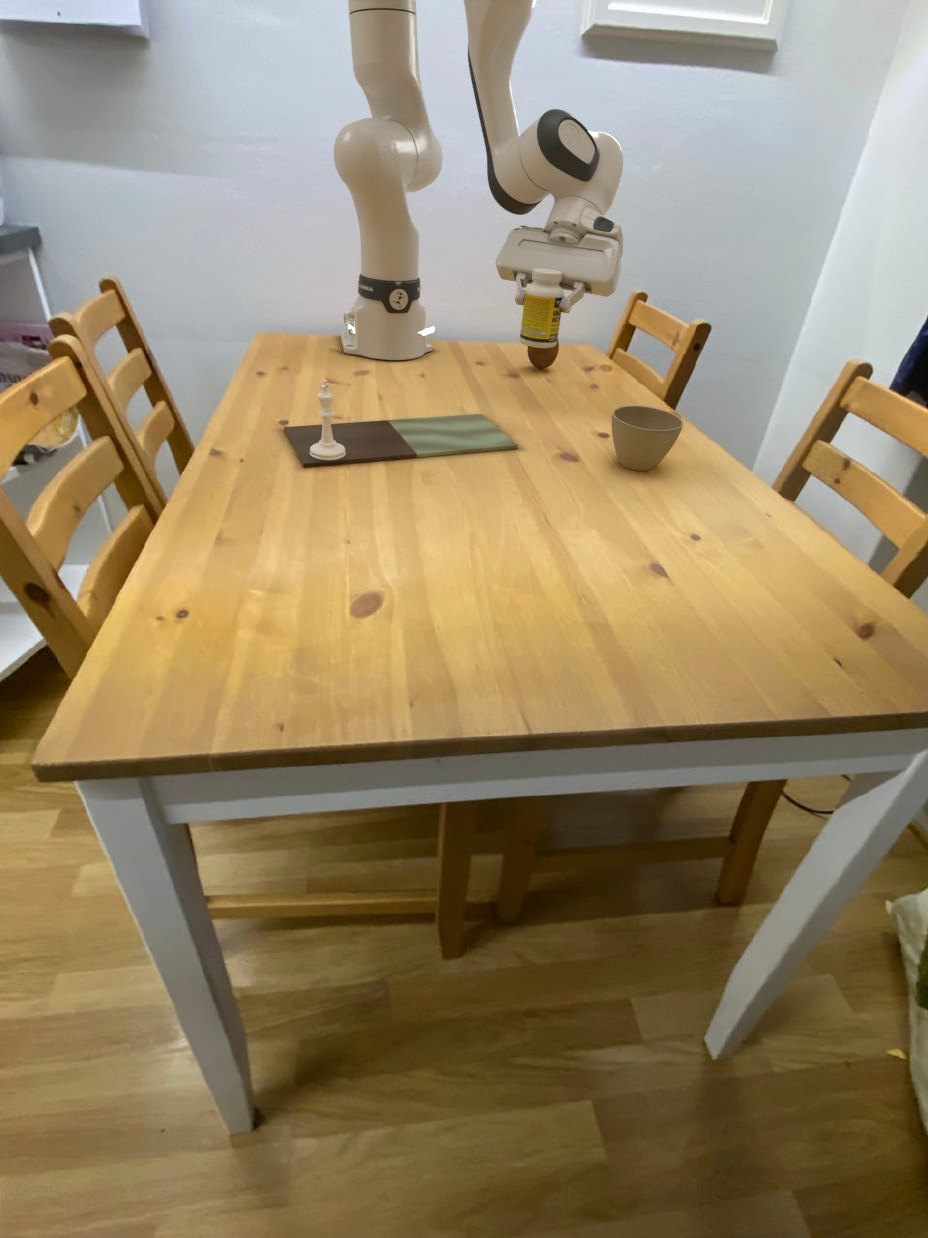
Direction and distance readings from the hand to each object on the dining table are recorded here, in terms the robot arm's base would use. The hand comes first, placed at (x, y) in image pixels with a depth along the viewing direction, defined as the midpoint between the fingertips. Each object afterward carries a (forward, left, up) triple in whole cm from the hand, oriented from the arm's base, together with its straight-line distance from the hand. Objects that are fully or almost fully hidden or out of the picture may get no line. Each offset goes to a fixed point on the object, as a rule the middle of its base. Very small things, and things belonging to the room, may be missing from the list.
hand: (541, 306), depth 111 cm
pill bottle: (0, 0, -6) cm, 6 cm away
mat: (+10, -27, -16) cm, 33 cm away
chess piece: (+15, -39, -16) cm, 44 cm away
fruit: (-21, +13, -16) cm, 30 cm away
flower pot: (+27, +4, -16) cm, 32 cm away
